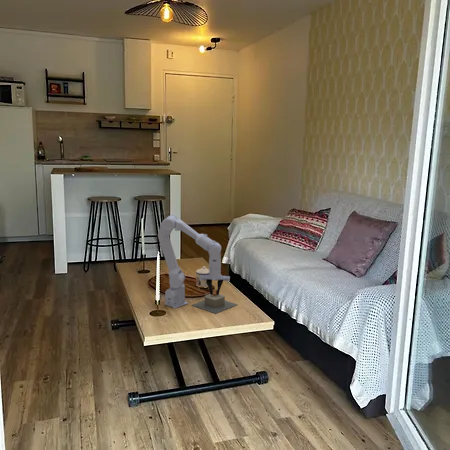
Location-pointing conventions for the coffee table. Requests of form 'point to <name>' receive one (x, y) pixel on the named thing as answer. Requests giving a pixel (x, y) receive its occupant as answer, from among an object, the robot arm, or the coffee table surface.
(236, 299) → the coffee table surface
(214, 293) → the plunger
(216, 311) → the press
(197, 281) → the teacup with lid
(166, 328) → the coffee table surface
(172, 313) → the coffee table surface
